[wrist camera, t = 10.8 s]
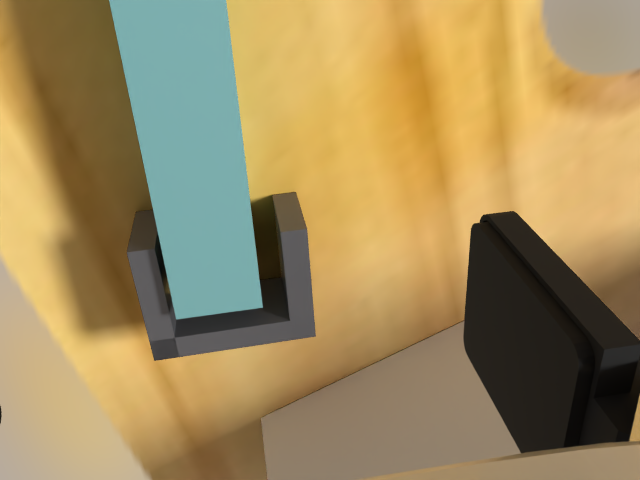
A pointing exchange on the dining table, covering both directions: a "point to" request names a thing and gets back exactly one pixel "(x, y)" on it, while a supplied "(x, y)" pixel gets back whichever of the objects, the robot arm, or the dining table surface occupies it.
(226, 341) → the end cap
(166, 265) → the slat
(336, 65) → the dining table surface
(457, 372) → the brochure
